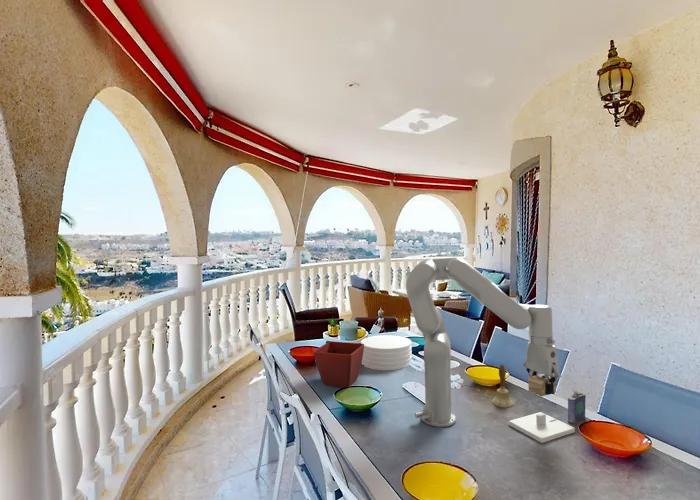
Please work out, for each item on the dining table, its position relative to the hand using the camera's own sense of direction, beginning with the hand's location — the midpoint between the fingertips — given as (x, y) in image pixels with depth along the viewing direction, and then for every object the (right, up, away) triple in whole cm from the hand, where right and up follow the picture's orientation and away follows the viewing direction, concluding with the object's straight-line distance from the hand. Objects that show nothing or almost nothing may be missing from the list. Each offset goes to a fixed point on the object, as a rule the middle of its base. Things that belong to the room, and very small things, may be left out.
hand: (542, 390), depth 140 cm
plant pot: (-73, -14, +50) cm, 89 cm away
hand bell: (-5, -13, +22) cm, 27 cm away
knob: (0, 0, 0) cm, 0 cm away
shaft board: (0, -14, +1) cm, 14 cm away
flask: (+16, -13, +7) cm, 22 cm away
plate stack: (-48, -13, +79) cm, 93 cm away
